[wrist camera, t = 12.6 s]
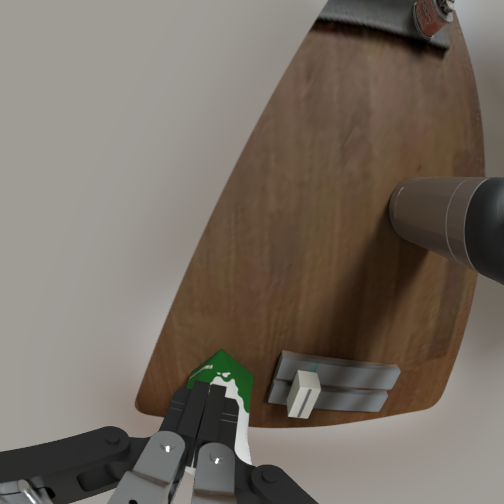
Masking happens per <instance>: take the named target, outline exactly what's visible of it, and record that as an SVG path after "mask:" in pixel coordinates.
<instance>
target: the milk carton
mask: <svg viewBox="0 0 504 504" xmlns="http://www.w3.org/2000/svg"><path fill="white" fill-rule="evenodd" d="M195 380H199V381H203V382H208V383H211V384H217V385H222V386H226V387H227V389H226V394H225V397H228V398H233V399H236V400H237V403H238V405H239V407H240V408H239V416H238V423H237V432H236V440H235V452H236V454H237V456H238V457H239V458H240V459H241V460H242V461H244V462H246V463H248V464H250V465H252V461H251V456H250V451H249V445H248V437H247V435H248V423H249V410H250V398H251V392H252V387H253V381H254V376H253V375H252V374H251V373H250V372H248V371H247V370H246V369H245V368H244V367H242V366H241V365H240V364H239V363H238V362H237V361H235V360H234V359H233V358H232V357H231V356H230V355H228V354H227V353H226V352H225V351H224V350H223V349H221V350H219V351H218V352H217V353H216V354H214V355H213V356H212V357H210V358H209V359H208V360H207V361H205V362H204V363H203V364H202V365H200V366H199V367H198V368H196V369H195V370H194V371H192V374H191V376H190V378H189V380H188V382H187V385H186V388H188V389H192V387H193V385H194V382H195ZM211 384H210V388H211ZM209 392H210V390H209ZM194 455H195V454H194ZM193 462H194V458H193ZM193 462H192V466H191V467H187V466H186V468H185V471H186V472H188V473H190V474H192V475H193V476H195V472H196V468H193Z"/></svg>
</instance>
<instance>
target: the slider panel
mask: <svg viewBox="0 0 504 504" xmlns="http://www.w3.org/2000/svg"><path fill="white" fill-rule="evenodd" d="M297 370H301V371H308V372H315V373H317V374H318V378H319V382H320V386H321V391H320V393H319V395H318V398H317V400H316V402H315V404H314V406H313V408H317V409H329V410H345V411H374V412H379V411H380V409H381V407H382V406H383V404H384V402H385V400H386V398H387V397H388V394H387V393H386V390H387V389H392V388H393V386H394V384H395V382H396V380H397V378H398V376H399V374H400V372H401V371H400V369H399V368H398V366H397V365H396V364H387V363H376V362H365V361H356V360H347V359H339V358H331V357H323V356H316V355H310V354H303V353H297V352H290V351H284V350H282V352H281V355H280V358H279V362H278V365H277V368H276V371H275V374H274V377H273V380H272V384H271V387H270V390H269V393H268V403H275V404H282V405H287V397H288V395H289V392H290V389H291V387H292V384H293V381H294V379H295V376H296V373H297Z"/></svg>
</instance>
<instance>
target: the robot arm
mask: <svg viewBox="0 0 504 504" xmlns="http://www.w3.org/2000/svg"><path fill="white" fill-rule="evenodd" d="M389 217H390V221H391V224H392V226H393V228H394V230H395V231H396V233H397V234H398V235H399V236H400V237H401V238H403V239H405V240H407V241H409V242H411V243H414V244H416V245H418V246H420V247H423V248H425V249H427V250H430V251H432V252H434V253H437V254H439V255H441V256H443V257H446V258H448V259H450V260H452V261H455V262H457V263H459V264H461V265H463V266H465V267H468V268H470V269H472V270H474V271H476V272H478V273H480V274H482V275H484V276H486V277H488V278H491V279H493V280H495V281H497V282H499V283H501V284H503V285H504V178H502V177H414V178H408V179H406V180H404V181H402V182H401V183H400V184H399V185H398V186H397V187H396V188H395V190H394V192H393V193H392V196H391V199H390V203H389ZM210 384H211V383H208V382H203V381H199V380H195V382H194V385H193V387H192V389H188V388H184V387H181V388H180V389H179V390H178V391H176V392H175V394H174V396H173V398H172V401H171V403H170V405H169V408H168V410H167V413H166V415H165V417H164V420H163V423H162V424H161V427H160V429H159V431H158V432H157V433H155V434H153V435H152V436H151V437H148V438H134V437H129V436H128V434H127V433H126V432H125V431H124V430H122V429H120V428H118V427H114V426H106V427H103V428H100V429H97V430H93V431H90V432H86V433H83V434H79V435H76V436H72V437H68V438H64V439H61V440H57V441H53V442H48V443H44V444H39V445H35V446H30V447H25V448H20V449H15V450H9V451H3V452H0V504H69V503H72V502H76V501H79V500H82V499H85V498H88V497H91V496H94V495H97V494H100V493H103V492H106V491H109V490H111V489H114V488H116V489H115V491H114V493H113V495H112V496H111V498H110V500H109V502H108V503H107V504H172V503H173V500H174V498H175V495H176V493H177V490H178V488H179V485H180V482H181V480H182V477H183V475H184V472H185V468H186V466H187V467H191V466H192V462H193V458H194V462H193V468H196V472H195V479H194V485H193V493H192V501H191V504H318V503H317V502H316V501H315V500H314V499H313V498H312V497H310V495H308V494H307V493H306V492H305V491H304V490H303V489H302V488H301V487H300V486H298V484H297V483H295V482H294V481H293V480H292V479H291V478H290V477H289V476H288V475H287V474H286V473H285V472H284V471H283V470H282V469H281V468H279V467H277V466H274V465H261V466H258V467H255V466H252V465H250V464H248V463H246V462H244V461H242V460H241V459H240V458H239V457H238V456H237V454H236V452H235V440H236V432H237V423H238V416H239V408H240V407H239V405H238V403H237V400H236V399H233V398H228V397H225V394H226V389H227V387H226V386H222V385H217V384H211V388H210ZM209 390H210V392H209ZM194 454H195V455H194Z"/></svg>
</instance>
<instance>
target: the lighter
mask: <svg viewBox="0 0 504 504" xmlns="http://www.w3.org/2000/svg"><path fill="white" fill-rule="evenodd" d="M453 4H454V0H419V1H418V2H416V3H415V4H414V5H413V18H414V22H415V26H416V28H417V31H418V33H419V35H420V36H421V37H423V38H424V39H427V40H428V39H431V38H432V37H433V35H434V34H435V33H436V32H437V31H439V30H440V29H441V28H442V27H443V26H445V25H446V24H449V23H451V22H452V21H453V16H452V12H453V11H454V10H455V8H454V5H453Z"/></svg>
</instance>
